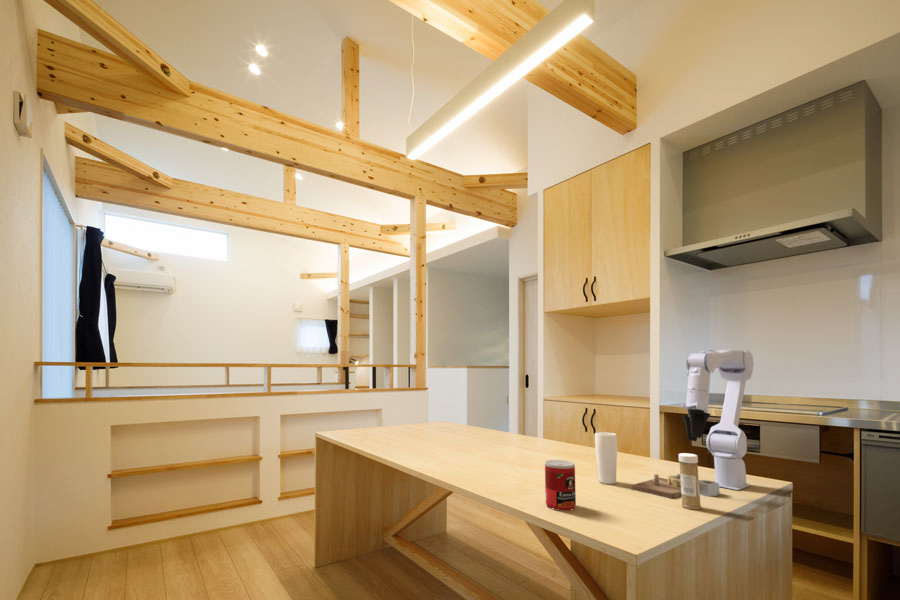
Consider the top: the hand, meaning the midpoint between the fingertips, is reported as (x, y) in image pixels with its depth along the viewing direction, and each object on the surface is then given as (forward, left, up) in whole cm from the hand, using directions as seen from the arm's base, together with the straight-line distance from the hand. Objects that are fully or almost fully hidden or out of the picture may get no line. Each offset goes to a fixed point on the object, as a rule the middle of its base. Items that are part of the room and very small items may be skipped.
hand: (694, 439), depth 132 cm
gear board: (-1, -10, -16) cm, 19 cm away
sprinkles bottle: (+11, +3, -16) cm, 20 cm away
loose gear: (-7, 0, -16) cm, 17 cm away
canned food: (+38, -18, -16) cm, 45 cm away
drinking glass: (+6, -25, -16) cm, 30 cm away
